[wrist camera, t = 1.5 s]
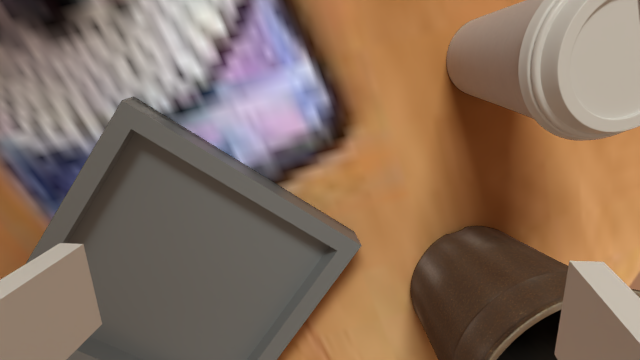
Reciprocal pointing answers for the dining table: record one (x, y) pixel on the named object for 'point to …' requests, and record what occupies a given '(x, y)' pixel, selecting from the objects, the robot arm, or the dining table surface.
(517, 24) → the coffee cup
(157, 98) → the dining table surface
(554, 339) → the plant pot
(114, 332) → the tray
